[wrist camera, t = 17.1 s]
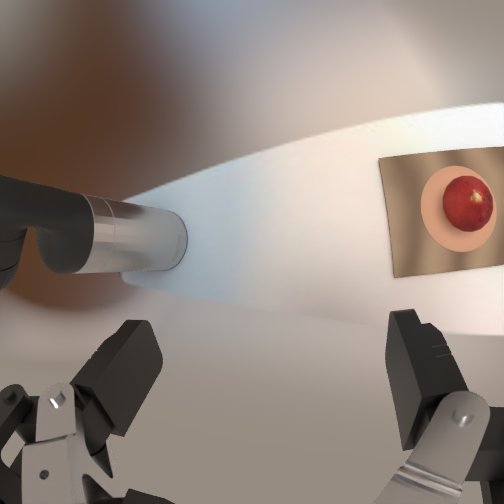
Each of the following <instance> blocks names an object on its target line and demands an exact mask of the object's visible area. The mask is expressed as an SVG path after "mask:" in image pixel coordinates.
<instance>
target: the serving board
mask: <svg viewBox="0 0 504 504" xmlns="http://www.w3.org/2000/svg"><path fill="white" fill-rule="evenodd" d="M379 165H380V170H381V176H382V181H383V187H384V193H385V200H386V206H387V213H388V221H389V228H390V237H391V246H392V256H393V267H394V277H395V278H397V277H406V276H415V275H425V274H433V273H442V272H450V271H458V270H466V269H474V268H482V267H489V266H496V265H503V264H504V147H487V148H472V149H460V150H448V151H437V152H427V153H418V154H409V155H401V156H393V157H385V158H379ZM460 176H474V177H476V178H478V179H480V180H481V181H482V182H483V183H484V184H485V185H486V186H487V187H488V189H489V191H490V193H491V195H492V197H493V212H492V215H491V217H490V220H489V222H488V223H487V224H486V225H485V226H484V227H483V228H482V229H480V230H477V231H474V232H464V231H461V230H459V229H457V228H455V227H454V226H452V224H451V223H450V222H449V220H448V219H447V218H446V215H445V212H444V210H443V195H444V192H445V189H446V186H447V185H448V184H449V183H450V182H451V181H452V180H453V179H455V178H457V177H460Z"/></svg>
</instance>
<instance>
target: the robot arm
mask: <svg viewBox="0 0 504 504" xmlns="http://www.w3.org/2000/svg"><path fill="white" fill-rule="evenodd" d="M28 227H34V228H36V235H37V245H38V250H39V254H40V256H41V259H42V261H43V263H44V264H45V266H46V267H47V268H48V269H49V270H50V271H52V272H54V273H59V274H69V273H99V272H130V271H157V270H168V269H171V268H173V267H174V266H176V265H177V264H178V263H179V262H180V260H181V259H182V257H183V255H184V253H185V250H186V245H187V234H186V229H185V226H184V224H183V222H182V220H181V219H180V218H179V216H178V215H176V214H175V213H173V212H170V211H166V210H161V209H156V208H152V207H147V206H142V205H136V204H131V203H126V202H121V201H115V200H110V199H105V198H100V197H93V196H88V195H83V194H78V193H73V192H68V191H65V190H61V189H58V188H54V187H50V186H46V185H41V184H36V183H31V182H27V181H23V180H19V179H15V178H11V177H7V176H3V175H0V290H1V289H3V288H5V287H6V286H8V285H9V284H10V283H11V281H12V280H13V278H14V277H15V274H16V272H17V268H18V264H19V260H20V256H21V252H22V247H23V243H24V238H25V235H26V231H27V228H28ZM97 350H98V351H96V352H95V353H94V354H93V355H92V357H91V359H89V360H88V361H87V362H86V364H85V365H84V366H83V367H82V369H81V370H80V371H79V372H78V373H77V375H76V376H75V377H74V378H73V380H72V381H71V382H70V383H69V384H68V383H57V384H54V385H52V386H50V387H48V388H47V389H46V390H45V391H44V392H43V393H42V394H41V396H28V394H27V393H26V391H25V390H24V388H23V387H22V386H21V385H19V384H13V385H10V386H7V387H6V388H4V389H3V390H2V391H1V392H0V504H174V503H172V502H170V501H168V500H166V499H165V498H161V497H157V496H153V495H150V494H146V493H142V492H139V491H136V490H133V489H128V491H127V493H125V491H124V490H123V488H122V486H121V483H120V480H119V476H118V472H117V468H116V464H115V459H114V455H113V451H112V446H111V443H110V441H109V440H108V437H109V435H110V433H111V434H114V435H118V436H122V437H124V436H125V434H126V432H127V430H128V428H129V426H130V425H131V423H132V421H133V419H134V417H135V416H136V414H137V412H138V410H139V409H140V407H141V405H142V403H143V401H144V400H145V398H146V396H147V394H148V393H149V391H150V389H151V387H152V385H153V384H154V382H155V380H156V378H157V377H158V375H159V373H160V371H161V369H162V364H163V358H162V353H161V351H160V348H159V346H158V343H157V340H156V338H155V335H154V332H153V329H152V327H151V325H150V323H149V322H148V321H146V320H126V321H125V322H124V323H123V325H122V326H121V327H120V328H119V329H118V331H117V332H116V333H115V334H113V335H112V336H110V337H109V338H107V339H106V340H105V341H104V342H103V343H102V344H101V345H100V347H99V348H98V349H97ZM385 360H386V369H387V373H388V378H389V382H390V387H391V391H392V395H393V401H394V405H395V410H396V415H397V421H398V426H399V432H400V437H401V443H402V449H403V451H405V450H411V449H414V450H413V451H412V453H411V455H410V456H409V458H408V459H407V461H406V462H405V464H404V465H403V466H402V467H400V468H399V469H398V470H397V472H396V473H395V474H394V475H393V477H392V478H391V480H390V481H389V482H388V484H387V485H386V487H385V488H384V489H383V490H382V492H381V493H380V494H379V496H378V497H377V498H376V499H375V501H374V502H373V503H372V504H457V503H458V501H459V499H460V496H461V494H462V490H461V487H462V484H463V482H464V481H480V485H481V491H482V498H483V504H504V407H490V406H489V405H488V403H487V402H486V401H485V399H484V398H483V397H481V396H480V395H478V394H477V393H474V392H470V391H469V390H468V388H467V386H466V383H465V381H464V379H463V377H462V374H461V372H460V370H459V368H458V365H457V363H456V361H455V359H454V357H453V356H452V355H451V351H450V349H449V347H448V346H447V343H446V341H445V339H444V337H443V335H442V333H441V332H440V331H439V330H438V329H437V328H436V327H434V326H433V325H432V324H431V323H426V324H421V322H420V320H419V318H418V316H417V314H416V312H415V310H414V309H408V310H399V311H391V312H390V315H389V324H388V333H387V343H386V353H385ZM14 431H16V432H17V434H18V435H19V436H20V437H21V438H22V439H23V441H24V442H25V445H24V446H23V448H22V449H21V451H20V452H19V454H18V456H17V457H16V458H15V460H14V462H13V463H12V465H11V466H10V468H8V467H7V466H6V465H5V464H4V463H3V461H2V459H1V450H2V448H3V447H4V445H5V444H6V443H7V441H8V440H9V438H10V437H11V435H12V434H13V432H14Z"/></svg>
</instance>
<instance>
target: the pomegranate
mask: <svg viewBox="0 0 504 504" xmlns="http://www.w3.org/2000/svg"><path fill="white" fill-rule="evenodd" d="M443 210H444V212H445V215H446V218H447V219H448V220H449V222H450V223H451V224H452V226H454V227H455V228H457V229H459V230H461V231H464V232H474V231H477V230H480V229H482V228H483V227H484V226H485V225H486V224H487V223H488V222H489V220H490V217H491V215H492V212H493V197H492V195H491V193H490V191H489V189H488V187H487V186H486V185H485V184H484V183H483V182H482V181H481V180H480V179H478V178H476V177H474V176H460V177H457V178H455V179H453V180H452V181H451V182H450V183H449V184H448V185H447V186H446V189H445V192H444V195H443Z"/></svg>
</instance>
